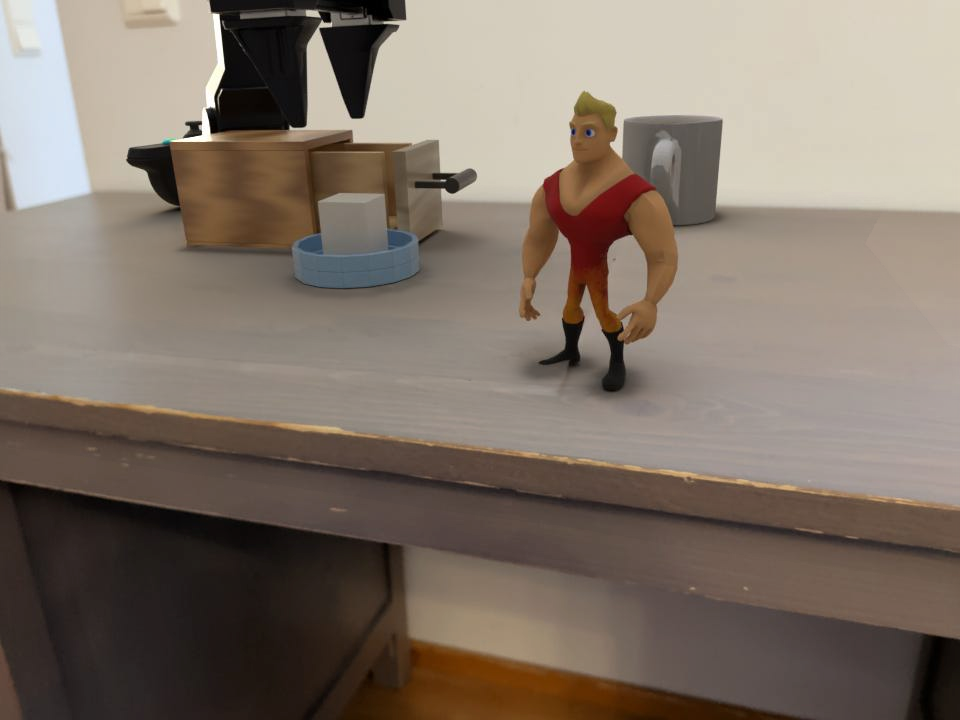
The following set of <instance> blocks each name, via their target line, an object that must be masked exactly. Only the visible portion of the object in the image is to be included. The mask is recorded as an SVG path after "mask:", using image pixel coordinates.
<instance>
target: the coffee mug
mask: <svg viewBox="0 0 960 720" xmlns="http://www.w3.org/2000/svg"><path fill="white" fill-rule="evenodd" d="M723 123H724V119H723V117H720V116H712V115H698V114H695V115H694V114H663V115H645V116H643V115H642V116H641V115H640V116H633V117H627V118H624V119H623V127H622V131H623V132H622V153H621V158H622V159H623V160H624V161H625V163H626V164H627V165H628V167H629V168H630V169H631V170H632V171H633V172H634V173H635V174H638V175H639V176H640V177H642V178H643V179H644V180H646V181H647V182H649V183H650V184H651V185H653V186H654V187H656V190H657V192H658V193H659V194H660V195H661V196H662V197H663V199H664V201H665V204H666V206H667V208H668V211H669V214H670V217H671V220H672V224H673V226H691V225H699V224H703V223H708V222H711V221H713V220H714V219H715V217H716V209H717V196H718V185H719V184H718V183H719V172H720V171H719V170H720V160H721V149H722V138H723V137H722V135H723Z"/></svg>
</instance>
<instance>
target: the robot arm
mask: <svg viewBox="0 0 960 720" xmlns="http://www.w3.org/2000/svg"><path fill="white" fill-rule="evenodd" d="M206 3H207V9H208V14H211V15H212V17H213V27H214V36H215V45H216V55H217V64H216V66H215V68H214V70H213V72H212V74H211V76H210V79H209V80H208V82H207V84H206V86H205V98H206V99H205V100H206V107H203V108H202V120H201V121H202V125H201V126H202V128H201V130H202V136H203V135H208V134H214V133H220V132H225V131H231V130H291V129H290V127H291V128H292V129H303V128H306V127H307V124H308V111H309V110H308V107H309V104H308V103H309V102H308V101H309V99H308V97H309V96H308V51H307V50H308V45H309V42H310V41H311V39H312V38H313V36H314V35H315V33H316V32H317V30H318V31H319V35H320V37H321V40H322V42H323V46H324V48H325V51H326V54H327V57H328V60H329V62H330V67H331V69H332V71H333V72H332V73H333V75H334V77H335V81H336V83H337V86H338V89H339V91H340V95H341V97H342V100H343V104H344V106H345V108H346V111H347V113H348V116H349V118H350V119H352V120H362V119H364V118H365V115H366V112H367V111H366V110H367V107H368V101H369V95H370V90H371V85H372V80H373V75H374V71H375V66H376V61H377V57H378V54H379V50H380V48H381V47H382V45H383V44H384V43H385V42H386V41H387V40H388V39H389V37H390V36H392V34H393V33H397V32H398V30H399V28H400V24H396V23H390V22H402V21H403V22H404V21H407V7H406V0H206ZM307 11H313V12H317V13H318V14H319V16H310V15H309V16H308V15H307ZM322 22H323V24H331V26H326V27H325V26H323V27H320V25H321V23H322ZM387 22H389V23H387Z"/></svg>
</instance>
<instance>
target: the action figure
mask: <svg viewBox="0 0 960 720" xmlns="http://www.w3.org/2000/svg"><path fill="white" fill-rule="evenodd" d="M573 113H574V114H573V116H572V119H571V121H569V122H568V126H569V129H570V137H569V143H570V147H571V152H572V158H573V160H572V161H571V162H570V163H569V164H567V165H566V166H565V167H562V168H560V169H558V170H557V171H555V172H554V173H552V174H551V175H549V176H547V177H545V178H544V179H543V183H542V184H541V185H540V186H539V188H537V190H536V191H535V192H534V195H533V197H532V199H531V204H530V209H529V210H530V211H529V217H528V218H529V220H528V221H529V227H528V229H527V230H526V233H525V236H524V237H523V238H524V239H523V242H522V247H521V252H522V253H521V260H522V271H523V276H524V278H523V281H522V283H521V287H520V301H519V308H518V312H519V318H521V319H523V318H525V320H526V321H527V322H530V321H531V319H533V320H534V321H536V320H537V319H538V317H541V313H540V312H539V311H538V310H537V309H535V308H534V306H533V305H532V303H531V302H532V300H533V299H534V298H533V297H534V294H535V291H536V288H537V281H536V278H537V277H538V275H539V273H540V272H541V270H542V269H543V268H544V267H545V265H546V264H547V262H548V261H549V259H550V258H551V256H552V254H553V252H554V250H555V248H556V245H557V243H558V241H559V234H560V233H561V235H562V236H563V237H564V238H565V239H566V240H567V242H568V244H569V247H570V269H569V275H568V283H567V290H566V291H567V292H566V293H567V298H566V303H565V305H564V308H563V310H562V317H561V323H562V324H561V325H562V329H563V333H564V339H565V341H564V342H565V344H564V349H562V350H561V351H560V352H559V353H557V354H555V355H553V356H551V357H549V358H546V359H542V360H540V361H538V362H537V363H538V365H541V366H550V365H554V364H559V363H561V362H566V361H569V362H568V364H578V363H580V362H581V353H580V351H579V341H580V337H581V334H582V331H583V327H584V324H585V319H586V315H585V313H584V310H583V308H582V307H581V304H582V301H583V297H584V294H585V291H586V287H587V292H588V295H589V297H590V301H591V304H592V307H593V311H594V313H595V317H596V318H597V320H598V322H599V325H600V327H601V330H600V331H601V333H602V334H603V335H604V337H605V339H606V340H607V342H608V346H609V351H610V358H609V362H608V370H607V372H606V374H605V375H604V376H603V378H602V379H601V386H602V388H603V389H605V390H607V391H608V390H609V391H616V390H619V389H620V388H621V387H622V386H623V385H624V383H625V381H626V375H627V370H626V364H625V360H624V349H625V348H624V347H625V345H626V346H628V345H630V344H631V343H635V342H637V341H639V340H642V339H646V338H647V337H649V336H650V335H651V334H652V333H653V331H654V330H655V328H656V325H657V319H658V305H657V304H658V303H659V302H660V301H662V299H663V298H664V297H665V295H666V294H667V293H668V291H669V290H670V288H671V287H672V285H673V283H674V280H675V277H676V275H677V271H678V267H679V265H678V263H679V251H678V245H677V241H676V237H675V229H674V225H673V224H672V220H671V217H670V214H669V211H668V208H667V206H666V204H665V201H664V199H663V197H662V196H661V195H660V194H659V193H658V192H657V190H656V187H654V186H653V185H651V184H650V183H649V182H647V181H646V180H644V179H643V178H642V177H640V176H639V175H638V174H635V173H634V172H633V171H632V170H631V169H630V168H629V167H628V165H627V164H626V163H625V161H624V160H623V159H622V156H620V155H619V154H618V153H617V152H616V151H615V150H614V149H613V147H612V145H611V143H614V142H616V138H617V135H618V132H619V131H618V130H619V129H618V127H617V126H616V125H615V124H616V117H617V113H618V112H617V109H616V107H615V106H614V105H613V104H612V103H609V102H607V101H605V100H601V99H598V98H596V97H594V96H593V95H592V94H591V93H590V92H589V91H586V90H583V91H582V92H581V93H580V95H579V96H578V98H577V100H576V103H575V104H574V106H573ZM559 232H560V233H559ZM628 236H633V238H634V240H635V241H636V242H637V244H638V246H639V247H640V249H641V250H642V252H643V254H644V258H645V261H646V275H647V276H646V292H645V296H644V298H643V299H642V300H640V301H637V302H634V303H632V304H630V305H627V306H626V307H624V308H623V309H622V310H621V311H620V312H619V313H618V314H617V313H616V312H614V311H613V310H611V309H610V305H609V278H608V277H609V274H610V270H609V263H608V255H609V254H608V253H609V250H610V247H611V246H612V245H613V244H614V243H615V242H616V241H618V240H620V239H622V238H625V237H628ZM629 315H631V316H630V318H629V321H628V323H627V325H626V326H625V328H624V324H623V321H622V320H624V319H626V318H627V317H628V316H629Z"/></svg>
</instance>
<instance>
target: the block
mask: <svg viewBox="0 0 960 720" xmlns="http://www.w3.org/2000/svg"><path fill="white" fill-rule="evenodd" d="M318 208H319V218H320V227H321V237H322V247H323V254H329V255H352V254H368V253H374V252H381V251H387V250H389V249H388V235H387V221H386V207H385V194H368V193H338V194H336V195H333V196H331V197H328V198H326V199H323V200H321V201H318Z"/></svg>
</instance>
